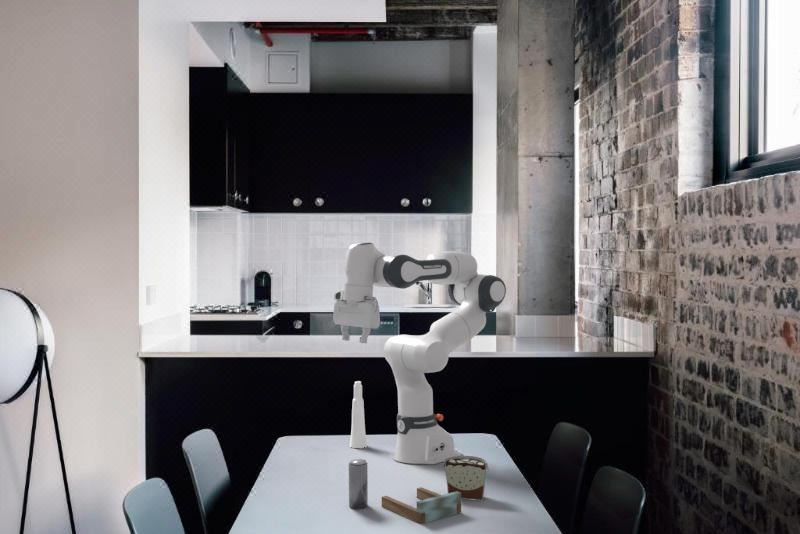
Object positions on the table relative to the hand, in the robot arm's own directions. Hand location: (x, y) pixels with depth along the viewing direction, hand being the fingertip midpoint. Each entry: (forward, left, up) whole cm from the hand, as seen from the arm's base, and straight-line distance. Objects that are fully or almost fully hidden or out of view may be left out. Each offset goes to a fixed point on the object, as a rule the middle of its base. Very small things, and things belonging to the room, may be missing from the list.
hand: (354, 341), depth 223 cm
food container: (-11, +38, -39) cm, 56 cm away
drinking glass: (+17, +27, -39) cm, 50 cm away
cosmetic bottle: (-17, -24, -39) cm, 49 cm away
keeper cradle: (+6, +39, -39) cm, 55 cm away
